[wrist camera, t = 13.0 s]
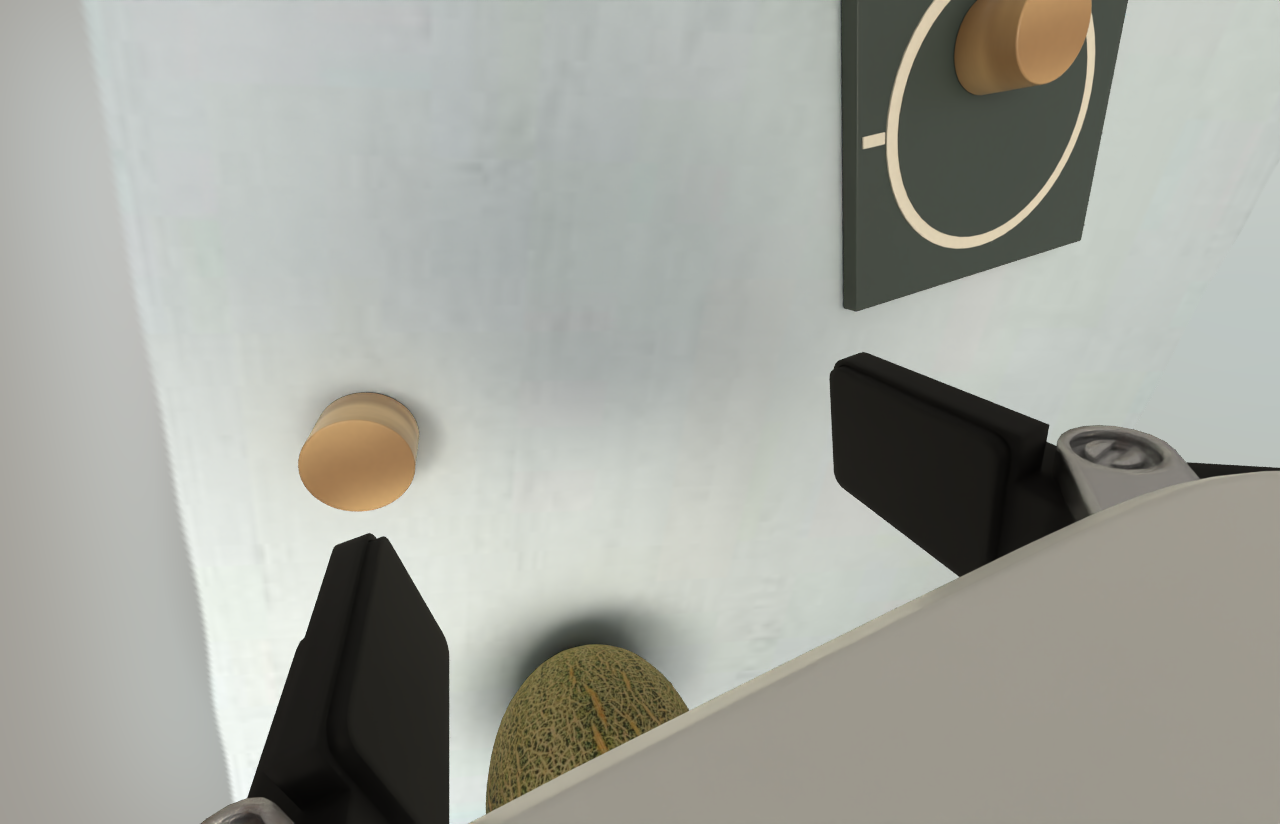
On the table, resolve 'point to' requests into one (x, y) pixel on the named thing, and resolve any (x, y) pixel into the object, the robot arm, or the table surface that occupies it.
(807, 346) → the table surface
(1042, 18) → the tan cork puck
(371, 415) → the tan cork stopper
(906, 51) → the slate board
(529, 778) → the fruit
